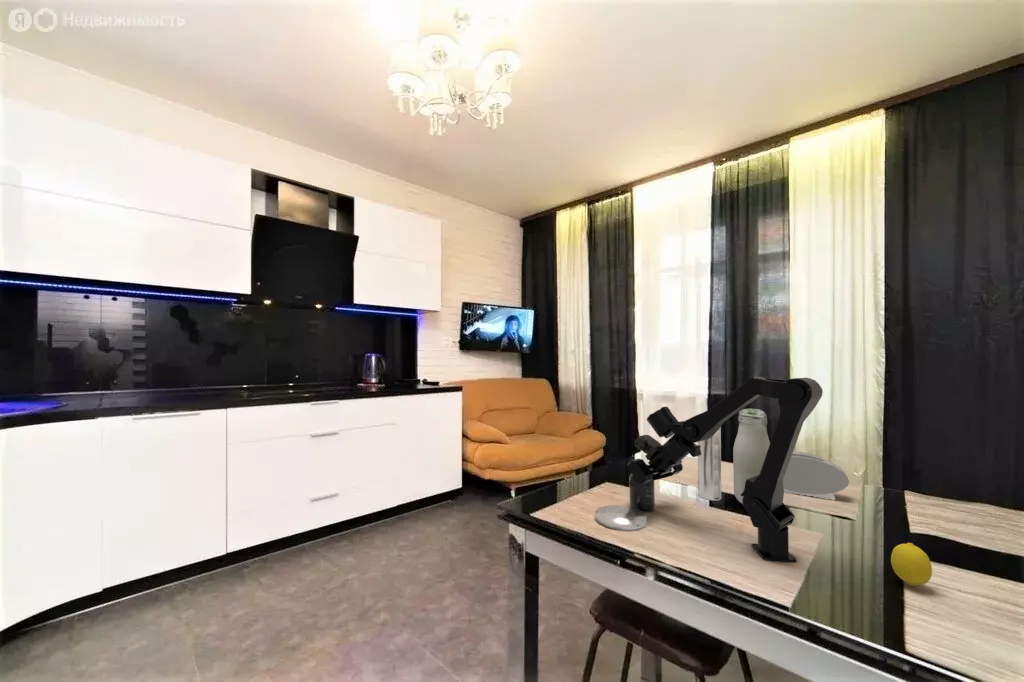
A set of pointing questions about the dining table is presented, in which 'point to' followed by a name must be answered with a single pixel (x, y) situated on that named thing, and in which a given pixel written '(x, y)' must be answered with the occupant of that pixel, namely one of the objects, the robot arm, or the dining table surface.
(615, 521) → the metal plate
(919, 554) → the lemon
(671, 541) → the dining table surface
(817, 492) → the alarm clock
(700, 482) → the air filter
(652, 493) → the supplement bottle
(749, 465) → the glass bottle
